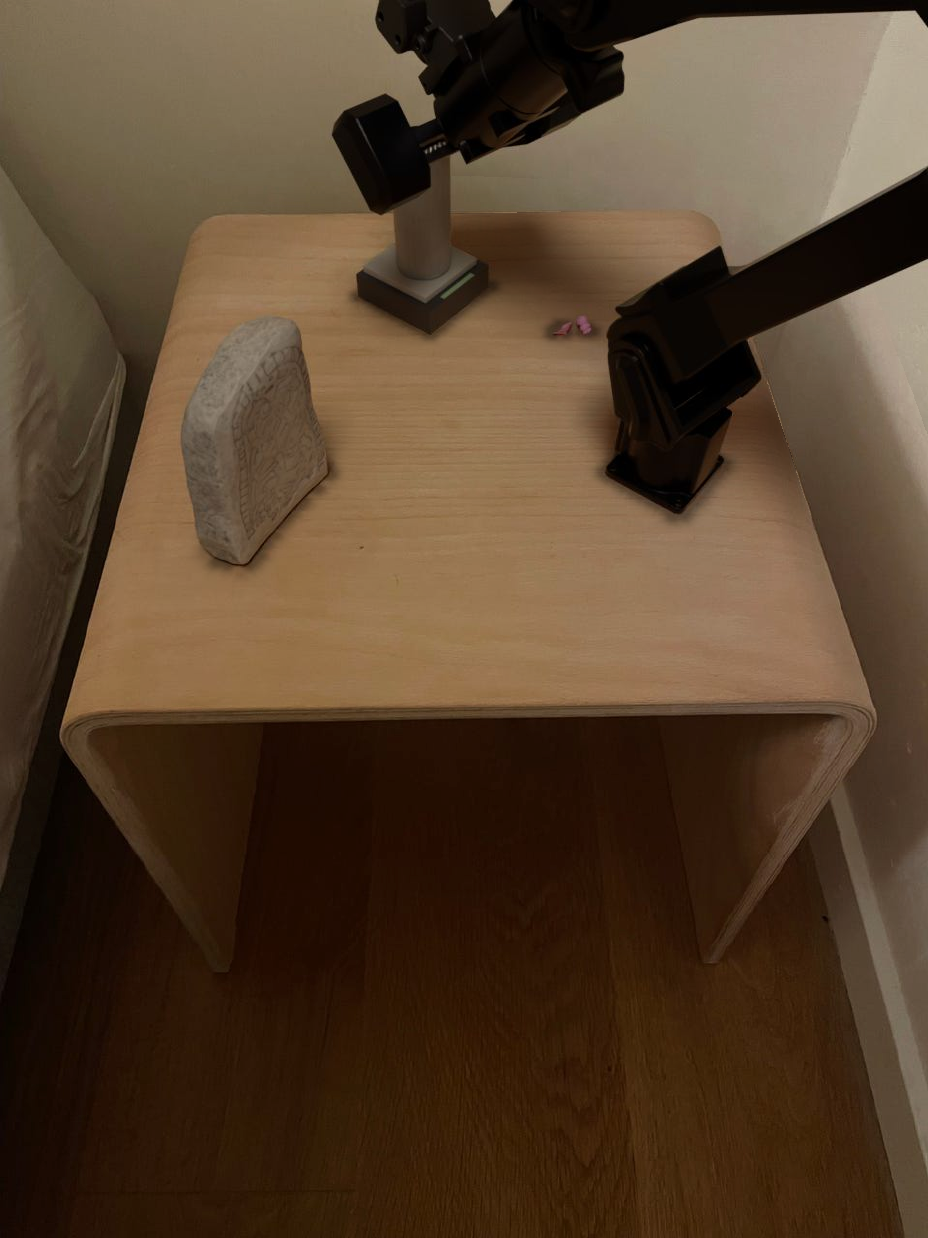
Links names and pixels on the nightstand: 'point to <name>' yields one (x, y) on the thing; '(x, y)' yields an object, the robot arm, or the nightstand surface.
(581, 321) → the pink seashells
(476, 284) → the scale
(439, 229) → the planter
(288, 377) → the decorative stone
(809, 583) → the nightstand surface
